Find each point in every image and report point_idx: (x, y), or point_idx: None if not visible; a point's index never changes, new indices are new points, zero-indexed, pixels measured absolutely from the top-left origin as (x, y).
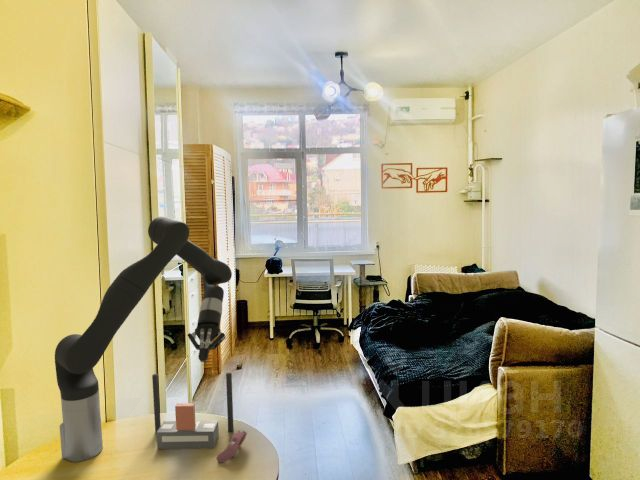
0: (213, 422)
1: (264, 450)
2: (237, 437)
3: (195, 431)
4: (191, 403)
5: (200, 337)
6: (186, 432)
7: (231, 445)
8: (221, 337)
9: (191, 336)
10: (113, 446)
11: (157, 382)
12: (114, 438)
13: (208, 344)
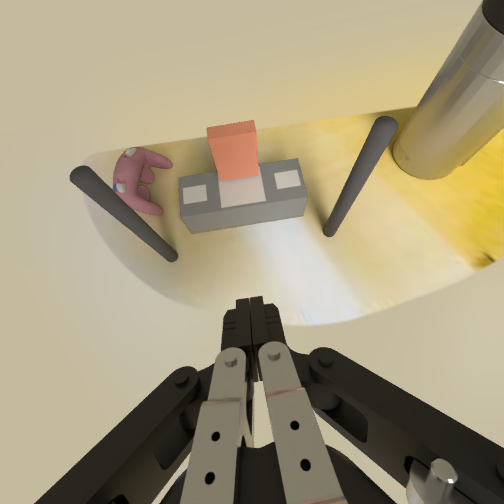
0: (188, 208)
1: (97, 205)
2: (121, 158)
3: (216, 172)
4: (215, 137)
5: (313, 427)
6: None
7: (133, 147)
8: (61, 481)
9: (453, 449)
10: (384, 177)
11: (363, 145)
12: (406, 199)
13: (216, 381)
